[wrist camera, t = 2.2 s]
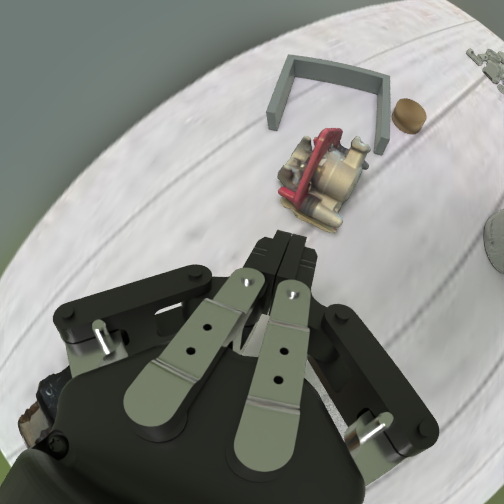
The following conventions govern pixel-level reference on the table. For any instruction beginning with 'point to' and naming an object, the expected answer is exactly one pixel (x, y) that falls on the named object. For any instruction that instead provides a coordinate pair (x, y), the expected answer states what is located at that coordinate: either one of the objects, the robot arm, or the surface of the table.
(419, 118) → the tan rounded lump
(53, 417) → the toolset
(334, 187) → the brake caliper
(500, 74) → the robot parts
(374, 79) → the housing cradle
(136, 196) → the table surface
